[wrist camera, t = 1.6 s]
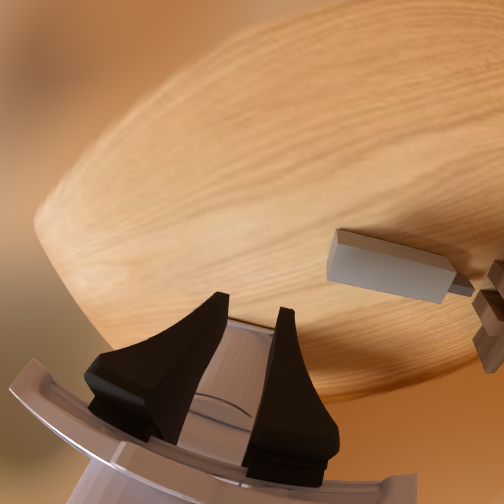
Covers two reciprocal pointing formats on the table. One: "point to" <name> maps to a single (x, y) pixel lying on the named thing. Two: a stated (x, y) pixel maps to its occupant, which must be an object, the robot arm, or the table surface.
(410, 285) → the rail
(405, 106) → the table surface
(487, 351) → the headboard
